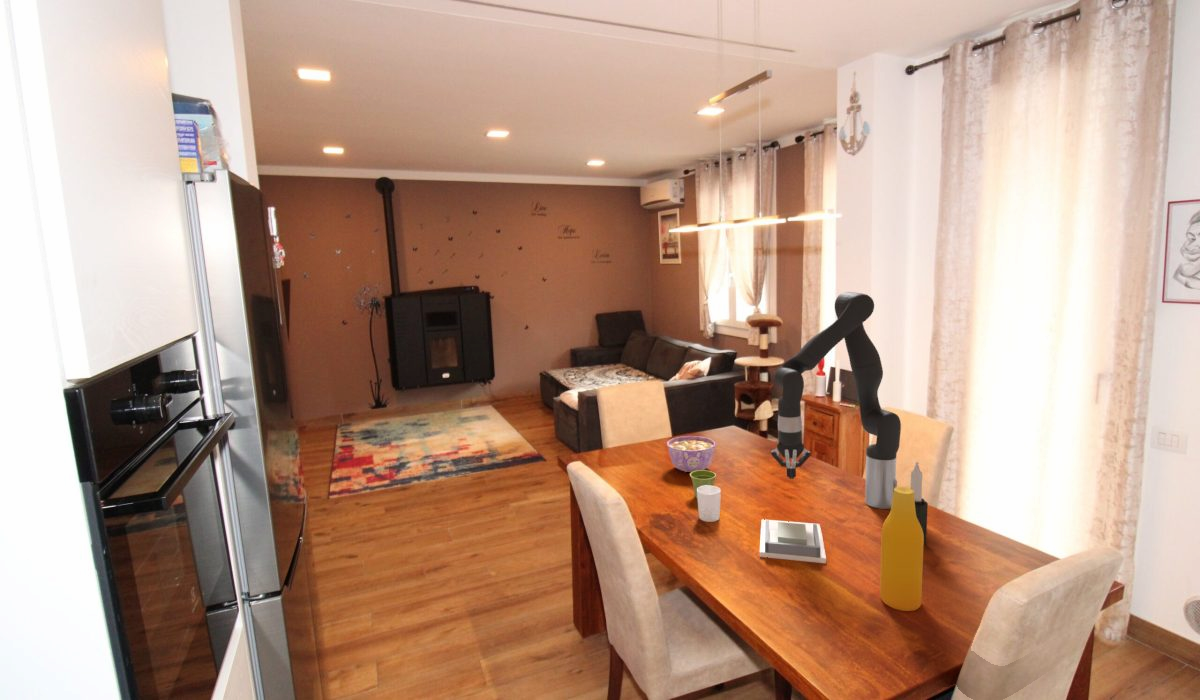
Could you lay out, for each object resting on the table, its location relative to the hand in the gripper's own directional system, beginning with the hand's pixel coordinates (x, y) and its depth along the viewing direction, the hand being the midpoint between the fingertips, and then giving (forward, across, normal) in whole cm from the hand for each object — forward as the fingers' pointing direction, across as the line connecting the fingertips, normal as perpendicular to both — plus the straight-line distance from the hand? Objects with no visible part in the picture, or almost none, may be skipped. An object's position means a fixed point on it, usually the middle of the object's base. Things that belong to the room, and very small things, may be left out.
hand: (791, 478), depth 189 cm
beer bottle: (+13, -23, +46) cm, 53 cm away
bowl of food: (+13, +38, -37) cm, 55 cm away
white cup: (+12, +27, +7) cm, 31 cm away
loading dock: (+13, +1, +18) cm, 22 cm away
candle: (+14, -34, +13) cm, 39 cm away
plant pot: (+13, +31, -10) cm, 35 cm away
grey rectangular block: (+11, +1, +22) cm, 25 cm away
